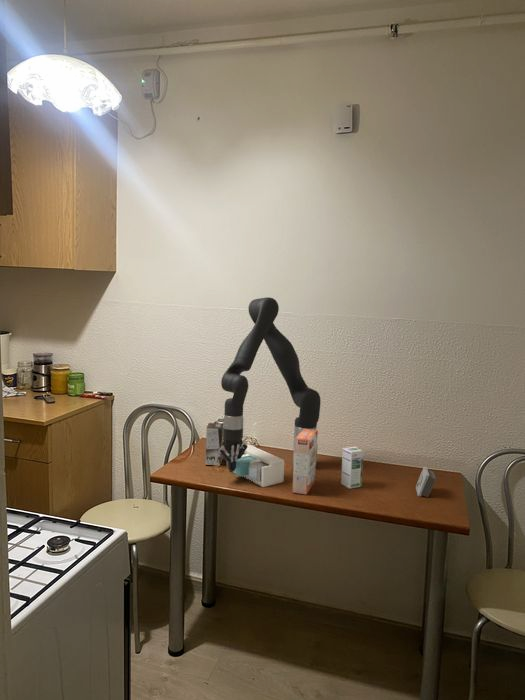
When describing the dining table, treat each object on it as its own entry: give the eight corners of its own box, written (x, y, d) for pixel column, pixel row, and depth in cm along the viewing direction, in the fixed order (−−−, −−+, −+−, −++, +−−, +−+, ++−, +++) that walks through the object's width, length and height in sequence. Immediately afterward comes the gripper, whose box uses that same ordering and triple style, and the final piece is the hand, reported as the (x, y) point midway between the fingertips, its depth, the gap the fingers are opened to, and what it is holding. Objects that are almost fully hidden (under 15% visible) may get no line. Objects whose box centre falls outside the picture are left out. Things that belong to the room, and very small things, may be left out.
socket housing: (248, 464, 217) (249, 444, 215) (283, 481, 198) (284, 460, 197) (228, 468, 210) (229, 448, 209) (262, 487, 192) (263, 464, 191)
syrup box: (349, 489, 194) (352, 451, 192) (340, 483, 199) (342, 447, 197) (361, 487, 196) (364, 450, 195) (352, 481, 202) (354, 445, 200)
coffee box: (220, 466, 212) (221, 428, 210) (204, 466, 212) (205, 428, 210) (222, 459, 221) (223, 422, 219) (207, 458, 221) (208, 422, 220)
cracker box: (307, 495, 186) (310, 439, 184) (291, 493, 188) (294, 437, 185) (315, 482, 199) (318, 429, 197) (300, 480, 201) (303, 427, 199)
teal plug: (253, 467, 207) (254, 455, 206) (261, 471, 203) (261, 459, 202) (232, 472, 201) (233, 460, 200) (240, 476, 197) (240, 463, 196)
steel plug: (269, 472, 202) (269, 460, 202) (277, 476, 198) (277, 464, 198) (248, 477, 196) (248, 464, 195) (256, 481, 192) (256, 468, 192)
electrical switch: (415, 487, 198) (419, 464, 196) (429, 490, 197) (433, 467, 196) (417, 497, 189) (422, 473, 187) (432, 500, 188) (436, 476, 186)
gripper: (241, 421, 202) (240, 464, 204) (213, 426, 194) (211, 470, 196) (253, 426, 196) (251, 470, 198) (224, 431, 188) (222, 476, 190)
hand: (231, 470), depth 197 cm, fingers closed
